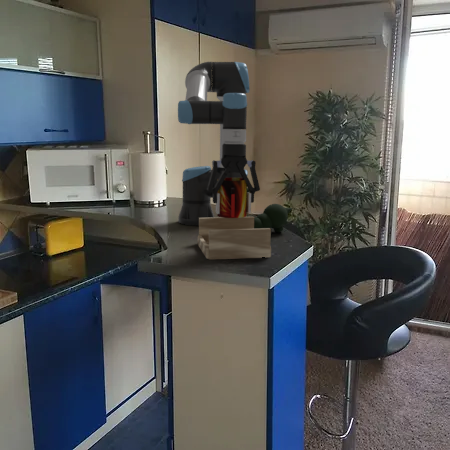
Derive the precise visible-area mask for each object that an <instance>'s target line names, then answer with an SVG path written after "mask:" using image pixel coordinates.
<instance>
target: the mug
mask: <svg viewBox="0 0 450 450" xmlns="http://www.w3.org/2000/svg"><path fill="white" fill-rule="evenodd" d="M217 181H218V179H217ZM217 193H219V194H220V213H219V214H217V213H216V214H217V215H216V216H217V217H222V218H242V217H246V216H247V215H248V213H247V184H246V181H245V180H243V178H225V179H224V180H223V183H222V185H221V187H220V188H219V190H218V192H217Z"/></svg>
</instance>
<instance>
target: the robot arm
mask: <svg viewBox="0 0 450 450" xmlns="http://www.w3.org/2000/svg"><path fill="white" fill-rule="evenodd" d="M184 85H185V88H186V92H185V93H186V94H185V100H179V101H178V103H177V119H178V122H179V123H180V124H186V125H219V160H212V162H211V163H212V164H211V165H212V167H211V166H210V165H203V166H193V167H188V168H186V169H183V172H182V180H181V182H182V205H181V209H180V211H179V215H178V217H177V218H178V220H177V221H178V224H180V223H181V224H180V225H184V224H185V225H186V226H199V218H214V217H215V215H214V212H213V209H212V205H211V198H212V203H213V204H215V214H219V213H220V194H219V193H217V192H218V190H219V188H220V187H221V185H222V183H223V180H224V179H225V178H243V180H245V181H246V184H247V188H248V189H249V191H250V193H249V192H247V214H251V213H252V203H254V201H255V194H254V193H256V192H260V191H261V187H260V184H259V179H258V175H257V171H256V161H255V160H253V159H252V160H249V159H248V160H247V145H246V144H245V143H246V142H247V117H248V116H247V108H248V99H247V94H249V93H250V78H249V70H248V66H247V64H246V63H245V62H239V61H204V62H201V63H199V64H197V65H195V66H193V67H192V68H191V69H190V70H189V71H188V73H186V76H185V79H184ZM208 93H216V99H218V100H208ZM246 165H247V167H248V168H249V172H250V176H251V180H252V183H253V185H252V183H251V181H250V179H249V177H248V170H247V169H245V166H246ZM217 179H218V181H217Z"/></svg>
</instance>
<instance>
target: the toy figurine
mask: <svg viewBox="0 0 450 450" xmlns="http://www.w3.org/2000/svg"><path fill="white" fill-rule="evenodd" d="M247 192H249V193H250V191H249V189H248V188H247ZM255 193H256V192H255ZM255 193H254V195H255ZM292 210H293V208H292V207H284V205H282V204H280V203H272V204H269V205H267V206H266V207H265V208H264V210H263V212H262V213H260V214H258V215H256V217H254V216H253V217H254V229H261V228H270V229H271V231H272V229H273V231H274V232H276V233H281V232H283V231H284V228H283V227H284V226H285V225H287V224H288V215H289V213H290V212H291V211H292ZM246 217H250V216H249V215H248V214H247V216H246Z"/></svg>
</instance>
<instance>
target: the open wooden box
mask: <svg viewBox="0 0 450 450" xmlns="http://www.w3.org/2000/svg"><path fill="white" fill-rule="evenodd" d="M271 229H272V228H271ZM271 229H270V228H261V229H254V216H249V217H242V218H222V217H218V216H217V217H215V216H214V218H199V225H198V235H197V245H198V247H199V249H200V250H201V252H202V254H203V255H204V256H205V258H206V259H208V260H209V261H210V260H228V259H229V260H231V259H235V260H236V259H262V257H265V258H271V257H272V247H271V234H272V230H271Z"/></svg>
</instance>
